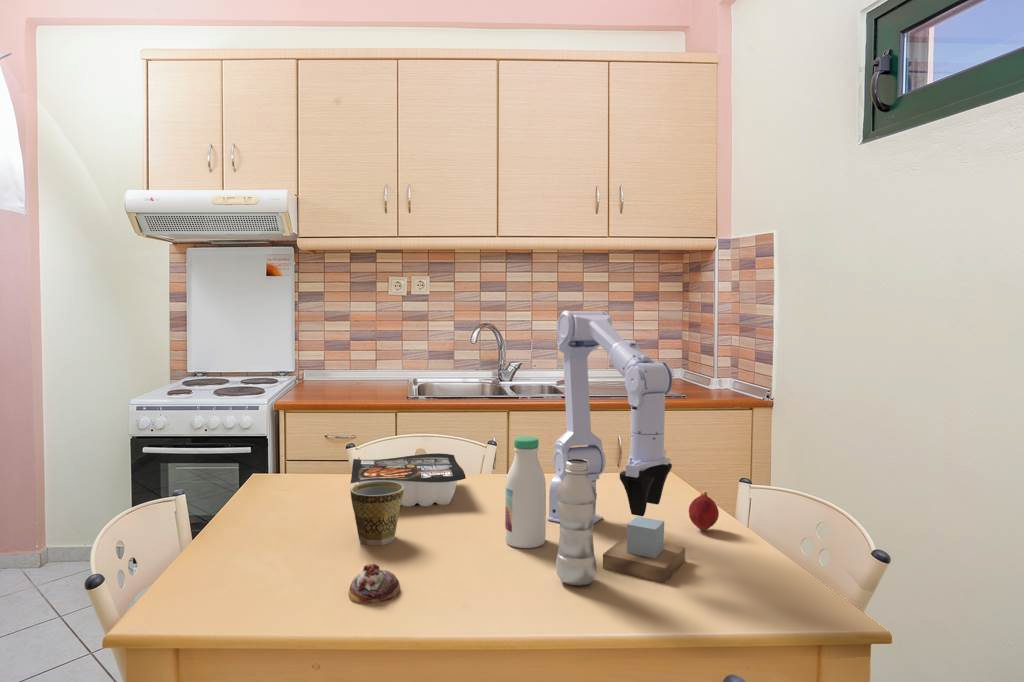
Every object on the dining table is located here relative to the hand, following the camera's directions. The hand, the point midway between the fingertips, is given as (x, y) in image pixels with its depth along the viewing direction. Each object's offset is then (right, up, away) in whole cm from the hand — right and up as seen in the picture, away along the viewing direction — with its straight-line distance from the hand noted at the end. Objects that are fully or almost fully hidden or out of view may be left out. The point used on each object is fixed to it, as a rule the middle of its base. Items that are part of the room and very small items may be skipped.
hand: (645, 508), depth 113 cm
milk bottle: (-21, -9, +11) cm, 25 cm away
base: (0, -10, +1) cm, 10 cm away
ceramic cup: (-50, -9, +13) cm, 53 cm away
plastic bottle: (-13, -10, -7) cm, 18 cm away
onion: (+15, -9, +18) cm, 25 cm away
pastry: (-45, -11, -11) cm, 47 cm away
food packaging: (-48, -8, +40) cm, 63 cm away
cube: (0, -7, 0) cm, 7 cm away
